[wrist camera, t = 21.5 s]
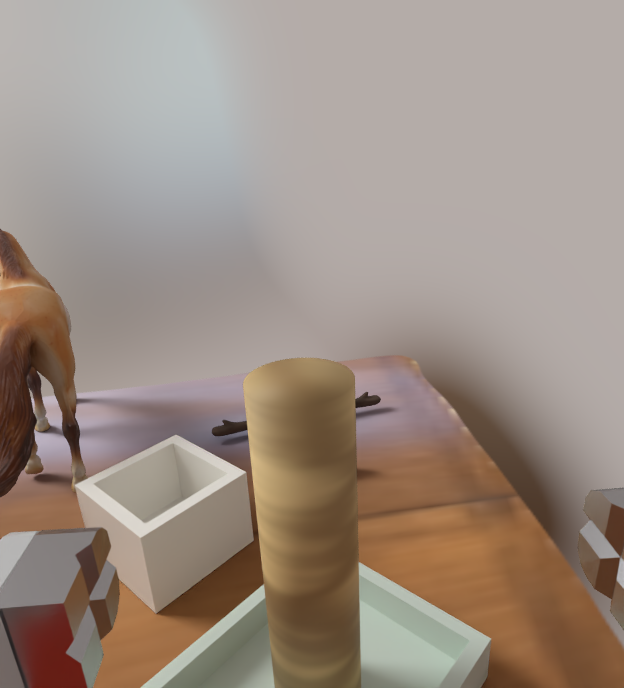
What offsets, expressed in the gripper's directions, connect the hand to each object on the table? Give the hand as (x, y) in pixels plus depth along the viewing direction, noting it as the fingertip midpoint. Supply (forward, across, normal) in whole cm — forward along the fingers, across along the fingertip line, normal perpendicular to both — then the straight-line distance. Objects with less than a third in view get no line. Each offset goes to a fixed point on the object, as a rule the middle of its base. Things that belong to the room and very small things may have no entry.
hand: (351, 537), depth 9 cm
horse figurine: (+39, -27, -22) cm, 52 cm away
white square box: (+25, -10, -22) cm, 34 cm away
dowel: (+12, 0, -21) cm, 24 cm away
